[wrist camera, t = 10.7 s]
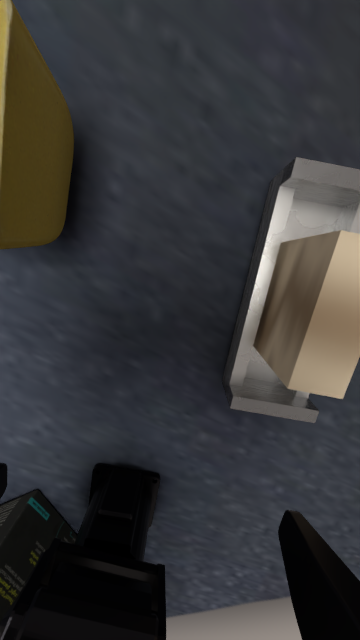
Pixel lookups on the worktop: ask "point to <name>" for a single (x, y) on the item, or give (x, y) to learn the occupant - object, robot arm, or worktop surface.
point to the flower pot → (30, 140)
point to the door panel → (313, 314)
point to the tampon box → (26, 541)
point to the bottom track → (276, 226)
